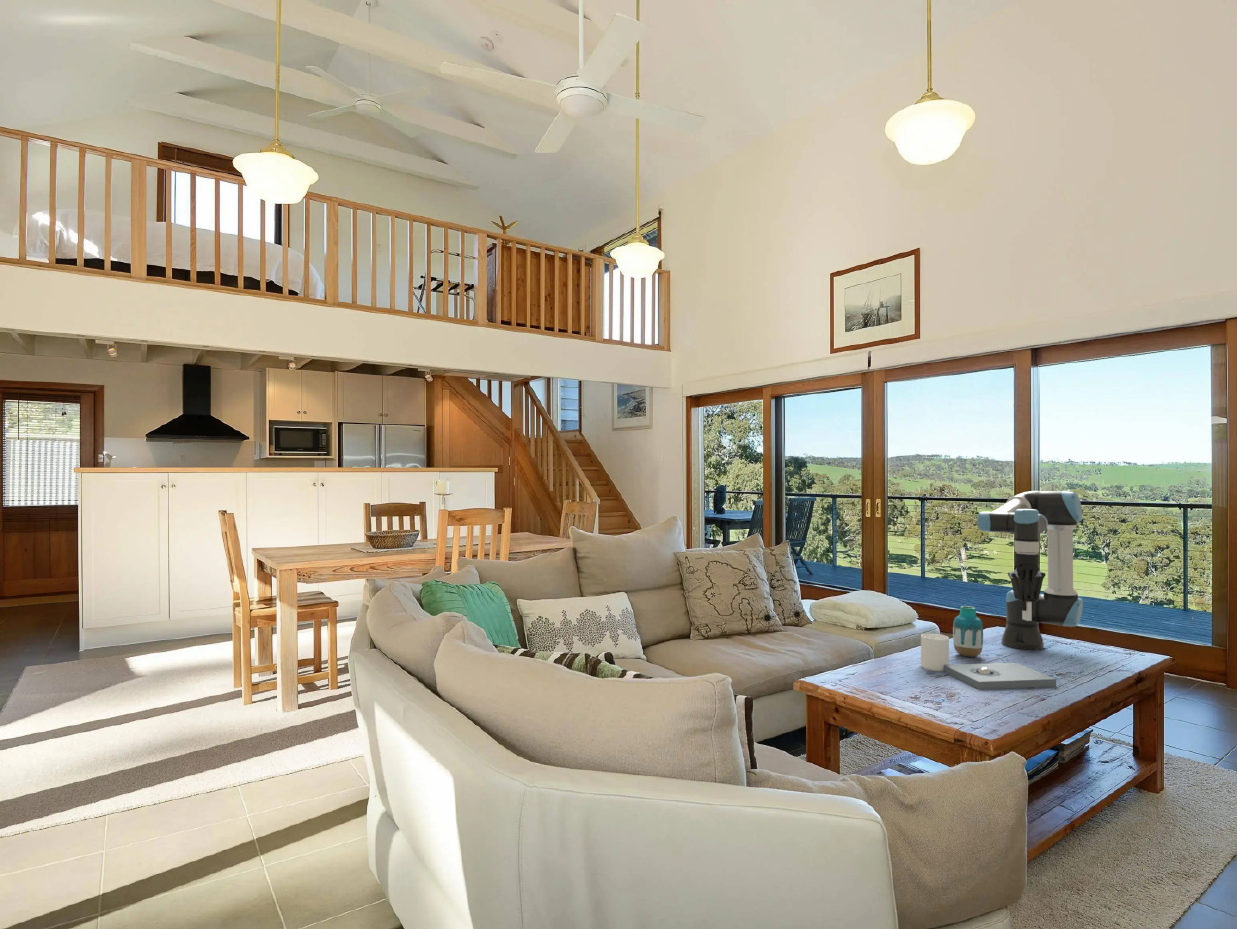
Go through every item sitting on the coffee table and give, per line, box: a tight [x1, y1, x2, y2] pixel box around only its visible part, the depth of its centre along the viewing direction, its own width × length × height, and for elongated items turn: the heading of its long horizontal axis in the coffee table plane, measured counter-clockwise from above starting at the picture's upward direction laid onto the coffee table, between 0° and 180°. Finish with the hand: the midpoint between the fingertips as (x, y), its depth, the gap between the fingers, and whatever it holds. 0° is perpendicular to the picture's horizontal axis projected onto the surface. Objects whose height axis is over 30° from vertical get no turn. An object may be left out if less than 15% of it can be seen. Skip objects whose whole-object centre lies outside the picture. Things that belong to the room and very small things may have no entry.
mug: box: [920, 633, 950, 673], centre depth 254 cm, size 10×12×12 cm
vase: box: [952, 605, 984, 658], centre depth 269 cm, size 11×11×19 cm
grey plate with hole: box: [943, 662, 1057, 690], centre depth 239 cm, size 28×20×2 cm
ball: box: [978, 668, 991, 675], centre depth 239 cm, size 4×4×4 cm
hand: (1026, 619), depth 241 cm, fingers closed
